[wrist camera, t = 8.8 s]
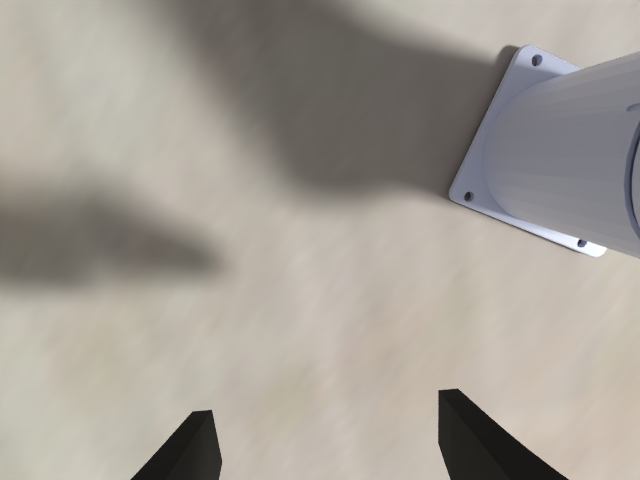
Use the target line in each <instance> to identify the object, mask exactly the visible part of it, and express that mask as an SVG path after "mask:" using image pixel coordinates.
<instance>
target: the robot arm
mask: <svg viewBox="0 0 640 480" xmlns="http://www.w3.org/2000/svg"><path fill="white" fill-rule="evenodd" d="M533 57H535V58H536V59H537V65H536V66H534V65H532V62H531V61H532V58H533ZM467 192H470V194H471V197H470V199H469V200H467V201H465V199H464V195H465V194H466V193H467ZM449 197H450V199H451V200H453V201H454V202H457V203H459V204H462V205H464V206H467V207H469V208H472V209H474V210H476V211H479V212H481V213H484V214H486V215H489V216H491V217H494V218H496V219H499V220H501V221H504V222H506V223H509V224H511V225H514V226H516V227H519V228H521V229H524V230H526V231H528V232H531V233H533V234H536V235H538V236H541V237H543V238H546V239H548V240H551V241H553V242H556V243H558V244H561V245H563V246H566V247H568V248H571V249H573V250H575V251H578V252H580V253H583V254H585V255H588V256H591V257H595V258H596V257H599V256H601V255H602V254H603V253H604V252H605V250H606V249H607V248H609V249H612V250H615V251H618V252H621V253H624V254H627V255H630V256H633V257H636V258H639V259H640V52H636V53H633V54H630V55H627V56H623V57H620V58H617V59H614V60H610V61H607V62H604V63H601V64H597V65H594V66H591V67H588V68H584V69H581V68H579V67H577V66H575V65H573V64H571V63H569V62H566V61H564V60H562V59H560V58H558V57H556V56H554V55H552V54H549V53H547V52H545V51H543V50H541V49H539V48H537V47H535V46H532V45H525V46H523V47H521V48H520V49H518V50H517V51H516V53H515V54H514V56H513V58H512V60H511V62H510V64H509V67H508V69H507V71H506V73H505V75H504V77H503V79H502V81H501V83H500V85H499V87H498V89H497V92H496V94H495V96H494V98H493V100H492V102H491V104H490V106H489V108H488V110H487V112H486V114H485V117H484V119H483V121H482V123H481V125H480V127H479V129H478V131H477V133H476V135H475V137H474V139H473V141H472V144H471V146H470V148H469V150H468V152H467V154H466V156H465V158H464V160H463V162H462V164H461V166H460V169H459V171H458V173H457V175H456V177H455V179H454V181H453V183H452V185H451V187H450V190H449ZM580 239H581V243H580V244H579V245H577V243H578V241H579V240H580ZM438 443H439V446H440V450H441V453H442V456H443V459H444V462H445V465H446V467H447V470H448V473H449V476H450V479H451V480H569V479H567V478H566V477H564V476H563V475H562V474H560V473H559V472H557V471H556V470H555V469H553V468H552V467H551V466H549V465H548V464H547V463H545V462H544V461H543V460H541V459H540V458H539V457H538V456H536V455H535V454H534V453H532V452H531V451H530V450H528V449H527V448H526V447H525V446H523V445H522V444H521V443H520V442H519V441H517V440H516V439H515V438H514V437H513V436H511V435H510V434H509V433H508V432H507V431H505V430H504V429H503V428H502V427H501V426H500V425H498V424H497V423H496V422H495V421H494V420H493V419H491V418H490V417H489V416H488V415H487V414H486V413H485V412H484V411H482V410H481V409H480V408H479V407H478V406H477V405H476V404H475V403H473V402H472V401H471V400H470V399H469V398H468V397H467V396H466V395H464V394H463V393H462V392H461V391H460V390H459V389H449V390H439V421H438ZM221 466H222V458H221V453H220V448H219V443H218V438H217V433H216V428H215V423H214V418H213V413H212V410H206V411H194V412H192V413H191V414H190V415H189V416H188V417H187V418H186V420H185V421H184V422H183V423H182V424H181V425H180V426H179V427H178V428H177V430H176V431H175V432H174V433H173V434H172V435H171V436H170V437H169V439H168V440H167V441H166V442H165V443H164V444H163V445H162V446H161V448H160V449H159V450H158V451H157V452H156V453H155V454H154V455H153V456H152V457H151V458H150V460H149V461H148V462H147V463H146V464H145V465H144V466H143V467H142V468H141V469H140V470H139V471H138V473H137V474H136V475H135V476H134V477H133V478H132V479H131V480H219V476H220V471H221Z"/></svg>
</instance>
